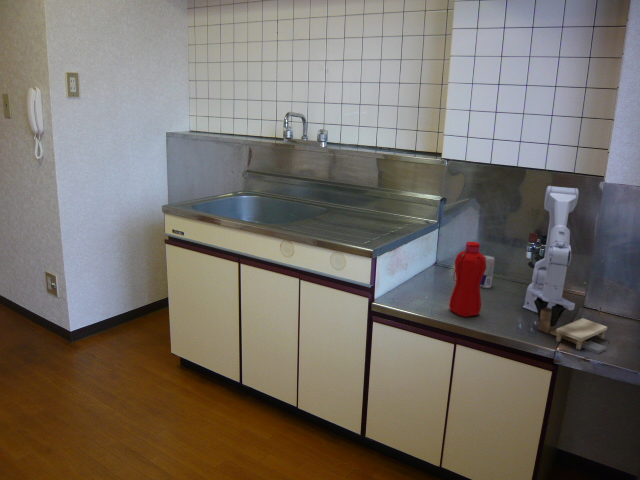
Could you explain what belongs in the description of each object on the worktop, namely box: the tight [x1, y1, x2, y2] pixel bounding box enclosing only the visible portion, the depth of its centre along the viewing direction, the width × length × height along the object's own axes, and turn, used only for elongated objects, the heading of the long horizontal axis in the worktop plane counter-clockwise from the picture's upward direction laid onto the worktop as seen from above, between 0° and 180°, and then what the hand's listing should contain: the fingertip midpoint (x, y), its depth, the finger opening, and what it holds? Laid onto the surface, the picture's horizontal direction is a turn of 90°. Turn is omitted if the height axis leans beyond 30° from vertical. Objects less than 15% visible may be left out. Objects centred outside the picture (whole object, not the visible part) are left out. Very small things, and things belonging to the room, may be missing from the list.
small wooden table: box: [555, 317, 608, 351], centre depth 171 cm, size 8×16×4 cm, turn 128°
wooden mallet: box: [537, 307, 588, 345], centre depth 172 cm, size 15×4×7 cm, turn 37°
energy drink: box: [480, 254, 496, 289], centre depth 214 cm, size 5×5×12 cm
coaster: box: [581, 340, 607, 355], centre depth 165 cm, size 5×5×1 cm
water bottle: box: [448, 241, 486, 318], centre depth 185 cm, size 9×11×25 cm
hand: (547, 323), depth 176 cm, fingers open, 4 cm apart
